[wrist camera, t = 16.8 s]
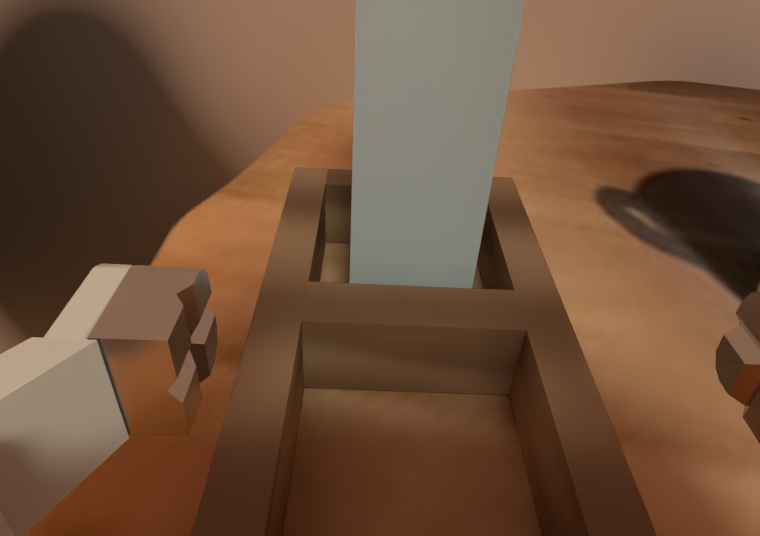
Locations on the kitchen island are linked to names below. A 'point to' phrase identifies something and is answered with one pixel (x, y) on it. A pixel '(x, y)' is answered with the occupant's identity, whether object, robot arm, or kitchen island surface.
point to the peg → (426, 135)
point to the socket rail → (416, 367)
